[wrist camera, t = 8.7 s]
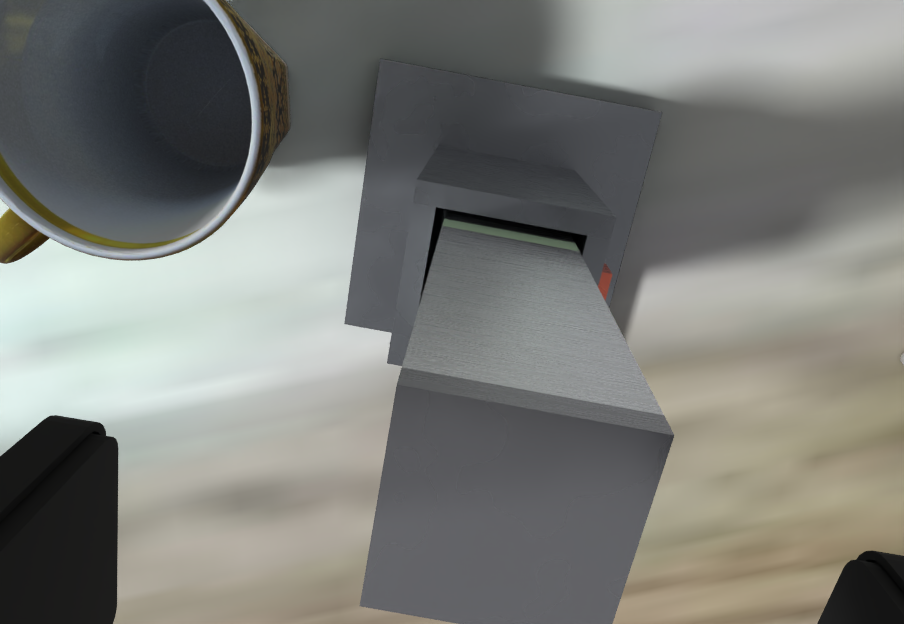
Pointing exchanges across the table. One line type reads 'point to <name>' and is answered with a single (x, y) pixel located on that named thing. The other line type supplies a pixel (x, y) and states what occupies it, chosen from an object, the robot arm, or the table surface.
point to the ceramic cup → (131, 123)
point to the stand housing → (487, 179)
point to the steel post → (513, 440)
